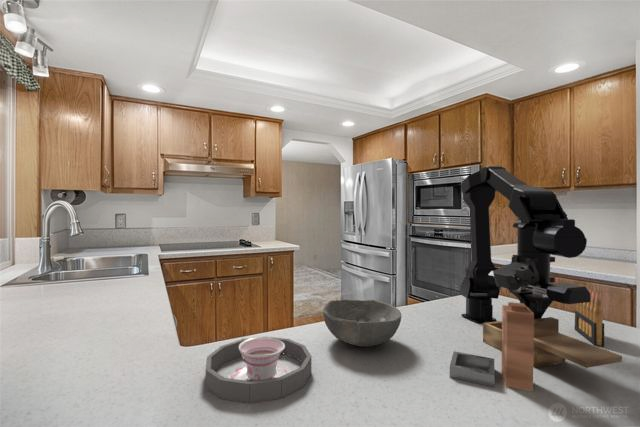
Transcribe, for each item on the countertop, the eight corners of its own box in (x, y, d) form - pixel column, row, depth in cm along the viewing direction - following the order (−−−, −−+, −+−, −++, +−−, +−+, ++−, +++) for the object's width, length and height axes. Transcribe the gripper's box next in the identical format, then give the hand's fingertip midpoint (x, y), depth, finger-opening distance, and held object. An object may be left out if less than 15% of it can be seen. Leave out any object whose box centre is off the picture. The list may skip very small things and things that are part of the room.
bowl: (403, 363, 65) (403, 323, 65) (315, 355, 69) (315, 317, 69) (399, 331, 83) (399, 299, 83) (330, 325, 86) (330, 295, 86)
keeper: (453, 361, 66) (453, 351, 66) (494, 369, 63) (494, 358, 63) (449, 377, 60) (449, 366, 60) (494, 387, 57) (494, 375, 57)
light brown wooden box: (482, 341, 76) (483, 323, 76) (510, 338, 78) (510, 320, 78) (533, 367, 64) (534, 345, 64) (564, 362, 66) (565, 340, 66)
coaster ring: (208, 357, 67) (208, 342, 67) (297, 346, 73) (297, 333, 73) (203, 410, 50) (203, 390, 50) (322, 391, 55) (322, 373, 55)
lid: (516, 337, 67) (516, 318, 67) (548, 333, 70) (548, 314, 70) (586, 368, 54) (586, 343, 54) (622, 361, 57) (622, 338, 57)
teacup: (307, 374, 61) (307, 341, 61) (265, 408, 51) (265, 368, 50) (257, 359, 67) (257, 329, 67) (210, 387, 56) (210, 351, 56)
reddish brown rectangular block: (501, 375, 61) (502, 300, 60) (526, 379, 59) (527, 302, 59) (506, 386, 57) (507, 306, 57) (532, 390, 56) (534, 308, 55)
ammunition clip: (604, 346, 74) (605, 293, 74) (594, 345, 74) (595, 292, 74) (583, 330, 84) (583, 283, 84) (574, 329, 84) (574, 282, 84)
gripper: (468, 247, 75) (468, 315, 75) (546, 258, 57) (545, 349, 57) (507, 245, 78) (507, 311, 78) (592, 256, 60) (591, 342, 60)
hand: (532, 326), depth 68 cm, fingers closed
